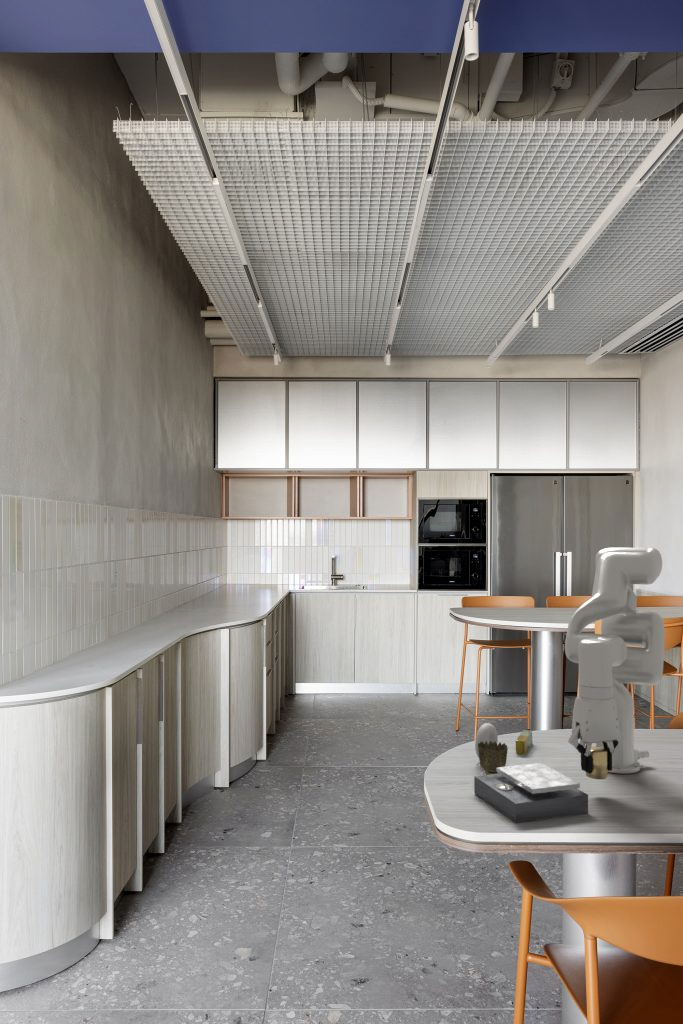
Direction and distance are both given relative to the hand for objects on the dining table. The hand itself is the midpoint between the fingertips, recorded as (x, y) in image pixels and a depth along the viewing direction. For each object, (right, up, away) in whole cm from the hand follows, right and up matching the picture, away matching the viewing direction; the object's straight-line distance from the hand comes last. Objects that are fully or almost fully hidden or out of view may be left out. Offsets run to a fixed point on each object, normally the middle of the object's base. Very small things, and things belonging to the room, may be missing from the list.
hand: (596, 769), depth 166 cm
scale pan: (-15, 0, -5) cm, 16 cm away
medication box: (-8, -7, +36) cm, 37 cm away
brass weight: (0, -1, 0) cm, 1 cm away
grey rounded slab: (-21, -7, +24) cm, 33 cm away
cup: (-22, -6, +11) cm, 26 cm away
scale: (-17, -5, -6) cm, 19 cm away
